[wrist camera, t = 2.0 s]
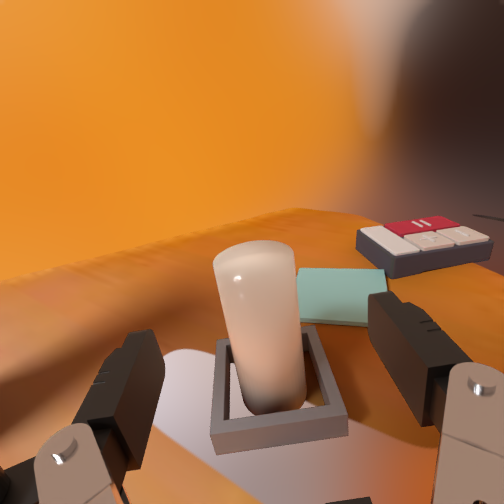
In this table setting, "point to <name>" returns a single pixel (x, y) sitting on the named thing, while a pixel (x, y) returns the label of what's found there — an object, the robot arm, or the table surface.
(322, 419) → the holder
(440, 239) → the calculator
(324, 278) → the coaster pad
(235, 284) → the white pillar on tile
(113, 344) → the table surface
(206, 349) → the table surface
